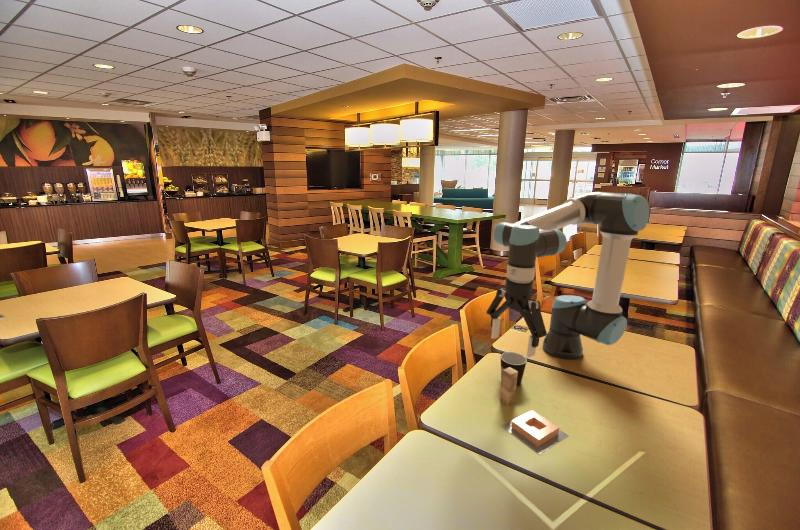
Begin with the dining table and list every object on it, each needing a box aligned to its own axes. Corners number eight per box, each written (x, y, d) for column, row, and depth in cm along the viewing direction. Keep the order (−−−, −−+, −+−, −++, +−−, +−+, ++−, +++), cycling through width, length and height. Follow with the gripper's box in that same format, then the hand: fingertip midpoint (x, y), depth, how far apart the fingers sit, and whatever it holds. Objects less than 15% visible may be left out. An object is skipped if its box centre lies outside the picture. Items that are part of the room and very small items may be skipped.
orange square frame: (531, 416, 113) (532, 410, 112) (558, 434, 105) (559, 427, 105) (511, 427, 108) (512, 420, 107) (537, 446, 101) (538, 440, 100)
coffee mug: (525, 392, 126) (528, 366, 123) (498, 389, 127) (501, 363, 125) (521, 374, 137) (524, 349, 134) (497, 371, 138) (499, 346, 136)
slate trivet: (530, 413, 115) (530, 410, 115) (568, 438, 105) (569, 435, 105) (501, 428, 109) (501, 426, 108) (539, 457, 98) (539, 454, 98)
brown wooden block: (506, 399, 122) (509, 366, 119) (514, 404, 119) (517, 371, 116) (499, 403, 120) (502, 369, 117) (507, 408, 118) (510, 374, 114)
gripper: (478, 270, 116) (473, 333, 121) (549, 294, 96) (539, 368, 101) (495, 267, 120) (489, 328, 125) (566, 289, 100) (556, 361, 105)
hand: (512, 346), depth 113 cm, fingers open, 13 cm apart
